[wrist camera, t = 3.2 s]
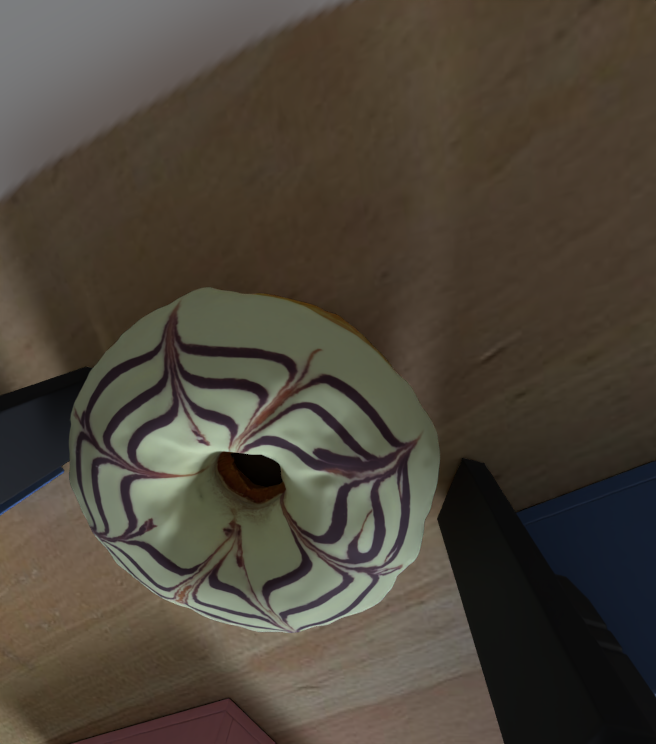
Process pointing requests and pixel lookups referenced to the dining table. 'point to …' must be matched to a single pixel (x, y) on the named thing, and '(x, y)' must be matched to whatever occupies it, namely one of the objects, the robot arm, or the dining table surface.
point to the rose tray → (191, 728)
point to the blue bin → (608, 555)
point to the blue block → (30, 490)
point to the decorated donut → (253, 436)
